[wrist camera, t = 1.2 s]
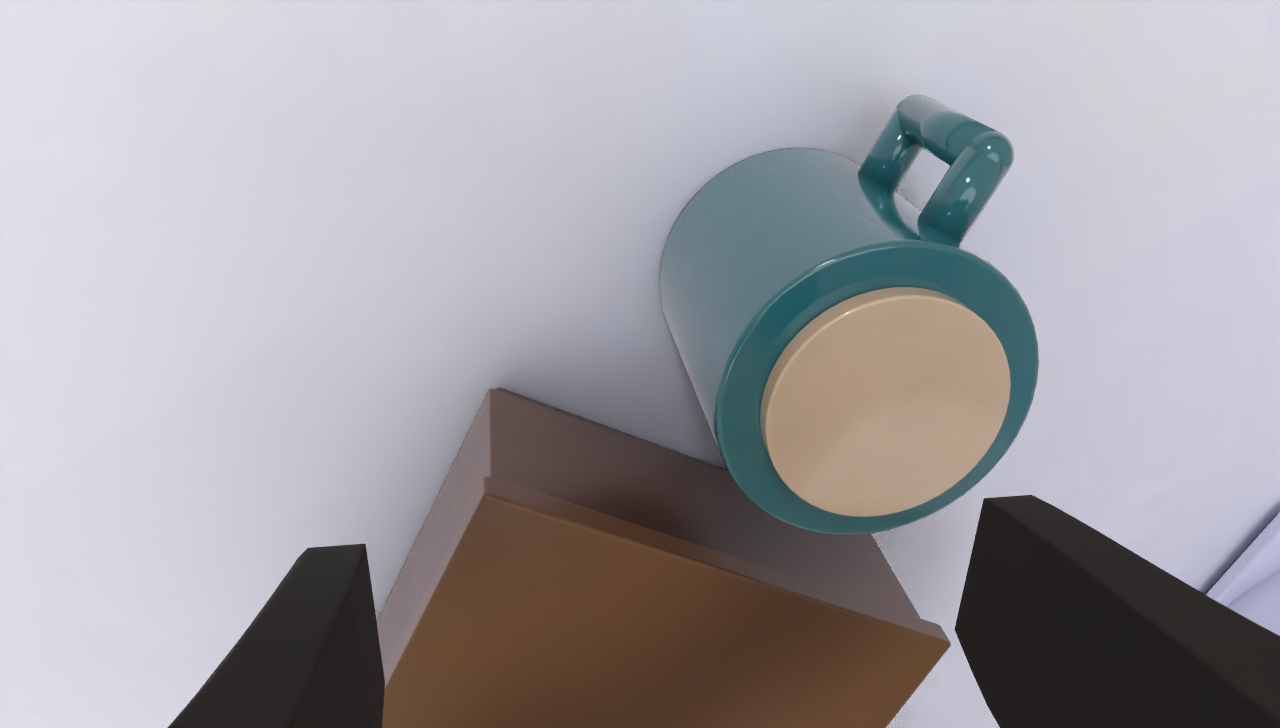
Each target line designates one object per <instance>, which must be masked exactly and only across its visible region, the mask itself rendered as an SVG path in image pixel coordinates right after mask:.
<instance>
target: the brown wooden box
mask: <svg viewBox="0 0 1280 728" xmlns="http://www.w3.org/2000/svg"><path fill="white" fill-rule="evenodd" d="M376 622H377V629H378V636H379V643H380V650H381V657H382V664H383V671H384V678H385V692H384V707H383V723H382V728H886V727H887V725H888V724H889V723H890V722H891V720H892V719H893V718H894V717H895V715H896V714H897V713H898V712H899V710H900V709H901V708H902V706H903V705H904V704H905V703H906V701H907V700H908V699H909V698H910V696H911V695H912V694H913V693H914V691H915V690H916V689H917V687H918V686H919V685H920V684H921V682H922V681H923V680H924V679H925V677H926V676H927V675H928V673H929V672H930V671H931V670H932V668H933V667H934V666H935V665H936V663H937V662H938V661H939V660H940V658H941V657H942V656H943V654H944V653H945V652H946V651H947V649H948V648H949V647H950V645H951V644H950V641H949V639H948V638H947V636H946V635H945V633H944V631H943V630H942V628H941V626H940V625H938V624H935V623H932V622H929V621H926V620H923V619H921V618H920V617H919V615H918V613H917V612H916V610H915V608H914V606H913V605H912V603H911V601H910V600H909V598H908V596H907V595H906V593H905V591H904V589H903V588H902V586H901V584H900V583H899V581H898V579H897V578H896V576H895V574H894V572H893V571H892V569H891V567H890V566H889V564H888V562H887V561H886V559H885V557H884V555H883V554H882V552H881V550H880V549H879V547H878V545H877V544H876V542H875V540H874V539H873V537H872V535H871V533H870V534H858V535H831V534H824V533H818V532H812V531H808V530H805V529H801V528H798V527H795V526H792V525H790V524H788V523H785V522H783V521H781V520H778V519H777V518H775V517H773V516H772V515H770V514H768V513H767V512H765V511H764V510H762V509H761V508H760V507H758V506H757V505H756V504H755V503H754V502H752V501H751V500H750V499H749V498H748V497H747V496H746V495H745V494H744V493H743V491H742V490H741V489H740V488H739V487H738V486H737V484H736V483H735V481H734V480H733V478H732V477H731V475H730V473H729V472H728V470H725V469H723V468H720V467H717V466H714V465H712V464H709V463H706V462H703V461H701V460H698V459H695V458H692V457H690V456H687V455H684V454H681V453H679V452H676V451H673V450H670V449H668V448H665V447H662V446H659V445H657V444H654V443H651V442H648V441H646V440H643V439H640V438H637V437H635V436H632V435H629V434H626V433H624V432H621V431H618V430H615V429H613V428H610V427H607V426H604V425H602V424H599V423H596V422H593V421H591V420H588V419H585V418H582V417H580V416H577V415H574V414H571V413H569V412H566V411H563V410H560V409H558V408H555V407H552V406H549V405H547V404H544V403H541V402H538V401H536V400H533V399H530V398H527V397H525V396H522V395H519V394H516V393H514V392H511V391H508V390H505V389H503V388H497V389H496V390H495V389H493V388H490V389H489V391H488V393H487V395H486V397H485V399H484V401H483V403H482V405H481V407H480V409H479V411H478V413H477V415H476V418H475V420H474V422H473V424H472V426H471V428H470V430H469V432H468V434H467V436H466V438H465V440H464V442H463V444H462V446H461V448H460V450H459V453H458V455H457V457H456V459H455V461H454V463H453V465H452V467H451V469H450V471H449V473H448V475H447V477H446V479H445V481H444V483H443V485H442V487H441V490H440V492H439V494H438V496H437V498H436V500H435V502H434V504H433V506H432V508H431V510H430V512H429V514H428V516H427V518H426V520H425V522H424V525H423V527H422V529H421V531H420V533H419V535H418V537H417V539H416V541H415V543H414V545H413V547H412V549H411V551H410V553H409V555H408V557H407V560H406V562H405V564H404V566H403V568H402V570H401V572H400V574H399V576H398V578H397V580H396V582H395V584H394V586H393V588H392V590H391V592H390V594H389V597H388V599H387V601H386V603H385V605H384V607H383V609H382V611H381V613H380V615H379V617H378V619H377V621H376Z"/></svg>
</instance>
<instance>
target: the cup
mask: <svg viewBox="0 0 1280 728" xmlns="http://www.w3.org/2000/svg"><path fill="white" fill-rule="evenodd" d="M922 148H923V149H924V150H926V151H928V152H929V153H931V154H933V155H934V156H936V157H937V158H939V159H941V160H942V161H944V162H946V163H947V164H949V165H950V168H949V169H948V171H947V172H946V174H945V176H944V177H943V179H942V180H941V182H940V184H939V185H938V187H937V188H936V190H935V191H934V193H933V195H932V196H931V198H930V199H929V201H928V203H927V204H926V206H925V207H924V209H923V210H922V211H921V210H919V209H918V208H917V207H915V206H914V205H913V204H911V203H910V202H909V201H907V200H906V199H905V198H903V197H902V196H901V195H900V194H898V193H897V192H896V190H897V188H898V187H899V185H900V184H901V182H902V180H903V179H904V177H905V175H906V174H907V172H908V171H909V169H910V167H911V166H912V164H913V162H914V161H915V159H916V158H917V156H918V154H919V153H920V151H921V149H922ZM1013 160H1014V149H1013V146H1012V144H1011V142H1010V140H1009V139H1008V138H1007V137H1006V136H1005V135H1003V134H1002V133H1000V132H998V131H996V130H994V129H992V128H989V127H987V126H985V125H983V124H981V123H979V122H977V121H975V120H973V119H971V118H969V117H967V116H965V115H963V114H961V113H959V112H957V111H955V110H953V109H951V108H949V107H947V106H945V105H943V104H941V103H939V102H937V101H935V100H933V99H931V98H929V97H926V96H924V95H911V96H908V97H906V98H904V99H903V100H902V101H901V102H900V103H899V104H898V105H897V107H896V108H895V110H894V112H893V113H892V115H891V117H890V119H889V120H888V122H887V124H886V125H885V127H884V129H883V130H882V132H881V134H880V135H879V137H878V139H877V140H876V142H875V144H874V145H873V147H872V149H871V150H870V152H869V154H868V155H867V157H866V159H865V161H864V162H863V164H862V166H860V165H859V164H857V163H856V162H854V161H852V160H850V159H848V158H845V157H843V156H841V155H838V154H835V153H831V152H827V151H823V150H817V149H808V148H788V149H781V150H775V151H769V152H766V153H762V154H759V155H756V156H752V157H750V158H748V159H746V160H743V161H741V162H739V163H736V164H735V165H733V166H731V167H730V168H728V169H726V170H725V171H723V172H721V173H720V174H719V175H717V176H716V177H715V178H713V179H712V180H711V181H709V182H708V183H707V184H706V185H705V186H704V187H703V188H702V189H701V190H700V191H699V192H698V193H697V194H696V195H695V196H694V197H693V198H692V199H691V200H690V202H689V203H688V204H687V205H686V207H685V208H684V209H683V211H682V212H681V214H680V216H679V217H678V219H677V221H676V222H675V224H674V226H673V228H672V230H671V232H670V235H669V237H668V239H667V242H666V245H665V248H664V252H663V255H662V260H661V266H660V275H659V290H660V299H661V305H662V309H663V313H664V316H665V319H666V322H667V324H668V327H669V329H670V332H671V334H672V336H673V339H674V341H675V344H676V346H677V349H678V351H679V354H680V356H681V358H682V361H683V363H684V366H685V368H686V371H687V373H688V375H689V378H690V380H691V383H692V385H693V388H694V390H695V393H696V395H697V397H698V400H699V402H700V405H701V407H702V410H703V412H704V415H705V417H706V419H707V422H708V424H709V427H710V429H711V432H712V434H713V437H714V439H715V441H716V444H717V446H718V449H719V451H720V454H721V456H722V458H723V461H724V463H725V465H726V468H727V470H728V472H729V473H730V475H731V477H732V478H733V480H734V481H735V483H736V484H737V486H738V487H739V488H740V489H741V490H742V491H743V493H744V494H745V495H746V496H747V497H748V498H749V499H750V500H751V501H752V502H754V503H755V504H756V505H757V506H758V507H760V508H761V509H762V510H764V511H765V512H767V513H768V514H770V515H772V516H773V517H775V518H777V519H778V520H781V521H783V522H785V523H788V524H790V525H792V526H795V527H798V528H801V529H805V530H808V531H812V532H818V533H824V534H831V535H858V534H870V533H875V532H880V531H886V530H890V529H894V528H897V527H900V526H904V525H907V524H910V523H912V522H915V521H917V520H920V519H922V518H925V517H927V516H929V515H931V514H933V513H935V512H936V511H938V510H940V509H942V508H944V507H946V506H947V505H949V504H950V503H952V502H953V501H955V500H956V499H958V498H959V497H961V496H962V495H964V494H965V493H966V492H967V491H969V490H970V489H971V488H972V487H974V486H975V485H976V484H977V483H978V482H979V481H980V480H981V479H982V478H983V477H985V476H986V475H987V474H988V473H989V472H990V471H991V470H992V469H993V467H994V466H995V465H996V464H997V463H998V461H999V460H1000V459H1001V458H1002V457H1003V455H1004V454H1005V453H1006V451H1007V450H1008V448H1009V447H1010V445H1011V444H1012V442H1013V441H1014V439H1015V438H1016V436H1017V434H1018V433H1019V431H1020V429H1021V427H1022V425H1023V423H1024V421H1025V419H1026V416H1027V414H1028V411H1029V408H1030V406H1031V403H1032V400H1033V396H1034V392H1035V387H1036V383H1037V375H1038V364H1039V360H1038V343H1037V338H1036V334H1035V329H1034V324H1033V321H1032V319H1031V316H1030V313H1029V311H1028V308H1027V306H1026V304H1025V303H1024V301H1023V299H1022V297H1021V296H1020V294H1019V292H1018V291H1017V289H1016V288H1015V287H1014V286H1013V285H1012V284H1011V282H1010V281H1009V280H1008V279H1007V278H1006V276H1004V275H1003V274H1002V273H1001V272H1000V271H999V270H997V269H996V268H995V267H994V266H993V265H991V264H990V263H989V262H988V261H986V260H985V259H984V258H982V257H981V256H980V255H978V254H977V253H976V252H974V251H973V250H972V249H970V248H969V247H968V246H967V245H965V244H964V243H963V242H962V241H963V239H964V238H965V236H966V235H967V233H968V232H969V230H970V229H971V227H972V226H973V224H974V223H975V221H976V220H977V218H978V216H979V215H980V213H981V212H982V210H983V209H984V207H985V206H986V204H987V203H988V201H989V200H990V198H991V197H992V195H993V194H994V192H995V191H996V189H997V188H998V186H999V185H1000V183H1001V181H1002V180H1003V178H1004V177H1005V175H1006V174H1007V172H1008V171H1009V169H1010V168H1011V166H1012V163H1013Z"/></svg>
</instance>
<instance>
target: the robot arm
mask: <svg viewBox="0 0 1280 728" xmlns="http://www.w3.org/2000/svg"><path fill="white" fill-rule="evenodd" d="M955 631H956V634H957V636H958V639H959V641H960V644H961V646H962V648H963V651H964V653H965V656H966V658H967V660H968V663H969V665H970V668H971V670H972V672H973V675H974V677H975V679H976V681H977V683H978V686H979V688H980V690H981V692H982V694H983V697H984V699H985V701H986V703H987V705H988V707H989V709H990V711H991V713H992V714H993V716H994V718H995V720H996V721H997V723H998V725H999V727H1000V728H1280V512H1279V513H1278V514H1277V516H1276V517H1275V518H1274V519H1273V520H1272V521H1271V522H1270V523H1269V524H1268V526H1267V527H1266V528H1265V529H1264V530H1263V531H1262V532H1261V533H1260V535H1259V536H1258V537H1257V538H1256V539H1255V540H1254V541H1253V542H1252V543H1251V545H1250V546H1249V547H1248V548H1247V549H1246V550H1245V551H1244V552H1243V553H1242V555H1241V556H1240V557H1239V558H1238V559H1237V560H1236V561H1235V562H1234V564H1233V565H1232V566H1231V567H1230V568H1229V569H1228V570H1227V571H1226V572H1225V574H1224V575H1223V576H1222V577H1221V578H1220V579H1219V580H1218V581H1217V582H1216V584H1215V585H1214V586H1213V587H1212V588H1211V589H1210V590H1209V591H1208V593H1207V594H1206V595H1205V594H1203V593H1201V592H1200V591H1198V590H1196V589H1194V588H1193V587H1191V586H1189V585H1188V584H1186V583H1184V582H1182V581H1181V580H1179V579H1177V578H1176V577H1174V576H1172V575H1170V574H1169V573H1167V572H1165V571H1164V570H1162V569H1160V568H1159V567H1157V566H1155V565H1154V564H1152V563H1150V562H1149V561H1147V560H1145V559H1143V558H1142V557H1140V556H1138V555H1137V554H1135V553H1133V552H1132V551H1130V550H1128V549H1127V548H1125V547H1123V546H1122V545H1120V544H1118V543H1117V542H1115V541H1113V540H1112V539H1110V538H1108V537H1106V536H1105V535H1103V534H1101V533H1100V532H1098V531H1096V530H1095V529H1093V528H1091V527H1089V526H1088V525H1086V524H1084V523H1083V522H1081V521H1079V520H1077V519H1076V518H1074V517H1072V516H1070V515H1069V514H1067V513H1065V512H1063V511H1061V510H1060V509H1058V508H1056V507H1054V506H1052V505H1050V504H1048V503H1046V502H1045V501H1043V500H1041V499H1039V498H1037V497H1035V496H1032V495H1025V496H1011V497H998V498H984V500H983V505H982V509H981V514H980V518H979V523H978V527H977V532H976V536H975V541H974V545H973V550H972V554H971V559H970V563H969V567H968V572H967V576H966V581H965V585H964V590H963V594H962V599H961V603H960V608H959V612H958V617H957V621H956V626H955ZM384 692H385V678H384V671H383V664H382V657H381V650H380V643H379V636H378V629H377V622H376V615H375V608H374V601H373V594H372V587H371V580H370V573H369V566H368V559H367V552H366V545H365V544H356V545H342V546H329V547H315V548H307V549H306V550H305V551H304V552H303V553H302V554H301V555H300V556H299V557H298V559H297V560H296V562H295V563H294V565H293V566H292V568H291V569H290V570H289V572H288V573H287V575H286V576H285V578H284V579H283V580H282V582H281V583H280V585H279V586H278V588H277V589H276V590H275V592H274V593H273V595H272V596H271V597H270V599H269V600H268V602H267V603H266V604H265V606H264V607H263V608H262V610H261V611H260V613H259V614H258V615H257V617H256V618H255V619H254V621H253V622H252V623H251V625H250V626H249V627H248V629H247V630H246V631H245V633H244V634H243V635H242V637H241V638H240V639H239V641H238V642H237V643H236V645H235V646H234V647H233V648H232V650H231V651H230V652H229V654H228V655H227V656H226V657H225V659H224V660H223V661H222V662H221V664H220V665H219V666H218V667H217V669H216V670H215V671H214V673H213V674H212V675H211V676H210V678H209V679H208V680H207V681H206V683H205V684H204V685H203V687H202V688H201V689H200V690H199V692H198V693H197V694H196V695H195V696H194V698H193V699H192V700H191V701H190V703H189V704H188V705H187V706H186V707H185V708H184V710H183V711H182V712H181V713H180V714H179V715H178V717H177V718H176V719H175V720H174V721H173V722H172V723H171V725H170V726H169V727H168V728H382V723H383V707H384Z"/></svg>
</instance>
